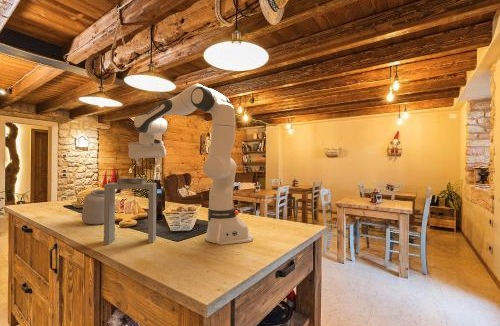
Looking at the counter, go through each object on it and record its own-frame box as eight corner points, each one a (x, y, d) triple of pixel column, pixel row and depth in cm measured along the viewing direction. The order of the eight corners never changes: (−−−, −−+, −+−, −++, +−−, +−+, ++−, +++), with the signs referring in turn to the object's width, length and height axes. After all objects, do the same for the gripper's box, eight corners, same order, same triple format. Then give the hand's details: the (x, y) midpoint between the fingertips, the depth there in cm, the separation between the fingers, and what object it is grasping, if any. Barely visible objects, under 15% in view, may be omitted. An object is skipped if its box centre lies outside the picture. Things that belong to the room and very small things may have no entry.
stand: (155, 238, 118) (156, 182, 117) (152, 242, 111) (153, 184, 111) (109, 239, 114) (110, 182, 114) (103, 244, 107) (104, 184, 107)
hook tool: (149, 181, 125) (149, 176, 125) (141, 184, 110) (141, 178, 110) (128, 181, 124) (128, 176, 124) (117, 184, 108) (117, 178, 108)
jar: (121, 222, 146) (122, 179, 146) (96, 228, 133) (97, 181, 132) (101, 218, 154) (101, 178, 154) (75, 224, 141) (76, 179, 141)
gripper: (126, 141, 139) (126, 166, 138) (164, 140, 143) (165, 164, 142) (129, 143, 146) (130, 166, 145) (166, 142, 149) (167, 165, 148)
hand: (147, 165), depth 143 cm, fingers open, 8 cm apart
